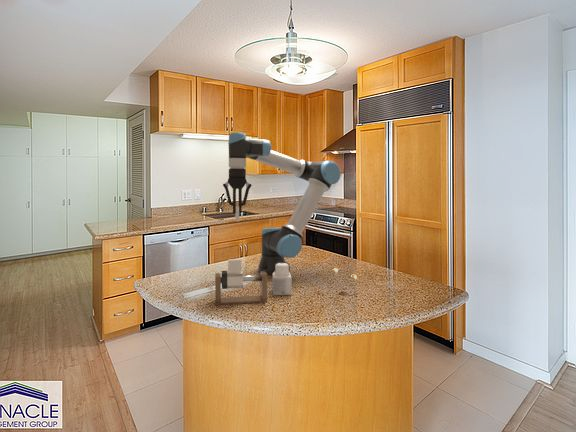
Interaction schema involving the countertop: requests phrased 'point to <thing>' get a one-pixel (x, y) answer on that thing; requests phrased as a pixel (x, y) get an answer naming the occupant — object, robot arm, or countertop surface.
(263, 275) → the rod stand
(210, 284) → the countertop surface
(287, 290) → the container
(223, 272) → the dark grey block
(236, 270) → the stepped block with cap
